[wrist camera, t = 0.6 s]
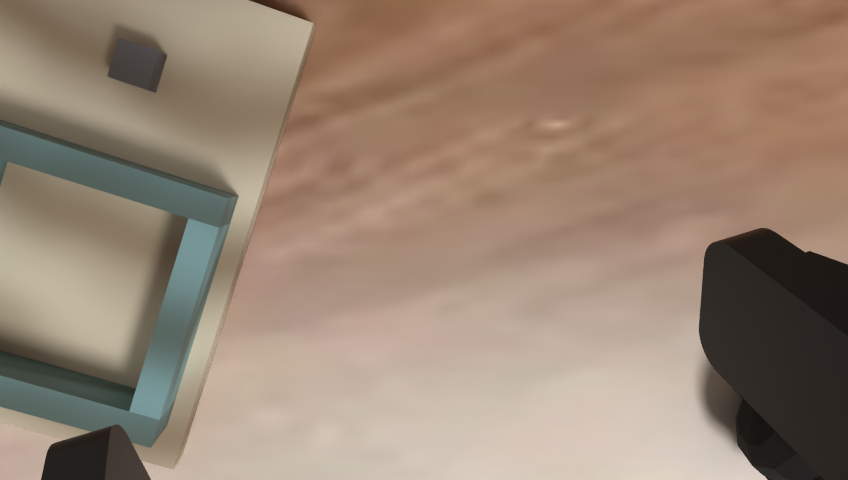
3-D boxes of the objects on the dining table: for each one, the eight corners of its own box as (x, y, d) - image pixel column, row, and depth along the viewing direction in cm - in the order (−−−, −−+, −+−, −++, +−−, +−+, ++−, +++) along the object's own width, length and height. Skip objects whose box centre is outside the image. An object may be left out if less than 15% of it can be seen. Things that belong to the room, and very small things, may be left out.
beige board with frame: (38, -68, 30) (-11, -104, 26) (315, 29, 31) (309, 10, 27) (-90, 381, 31) (-155, 411, 27) (182, 455, 33) (157, 495, 29)
